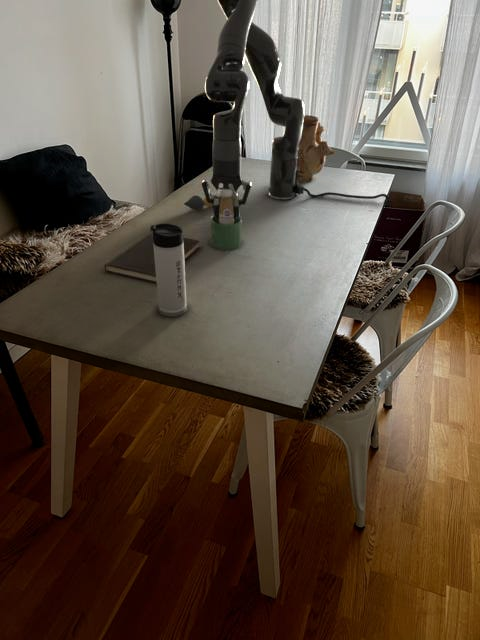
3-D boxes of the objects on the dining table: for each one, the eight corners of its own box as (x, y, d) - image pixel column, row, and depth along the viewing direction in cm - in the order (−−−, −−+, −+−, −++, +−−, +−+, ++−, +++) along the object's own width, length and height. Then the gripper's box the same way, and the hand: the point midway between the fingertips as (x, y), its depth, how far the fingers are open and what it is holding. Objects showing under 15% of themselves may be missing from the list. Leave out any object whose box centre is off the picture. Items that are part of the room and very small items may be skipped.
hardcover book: (200, 248, 133) (199, 240, 132) (159, 284, 115) (159, 276, 114) (151, 238, 138) (150, 231, 137) (105, 271, 120) (103, 263, 119)
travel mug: (158, 302, 108) (151, 221, 97) (186, 302, 109) (183, 220, 98) (156, 317, 103) (148, 233, 92) (186, 316, 104) (182, 232, 92)
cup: (233, 235, 141) (233, 211, 137) (246, 246, 135) (246, 222, 131) (206, 240, 138) (205, 215, 134) (218, 252, 131) (218, 226, 127)
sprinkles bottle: (221, 237, 132) (221, 190, 125) (216, 231, 136) (216, 185, 128) (236, 235, 134) (237, 189, 126) (231, 229, 137) (232, 183, 130)
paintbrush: (225, 198, 168) (225, 184, 166) (234, 201, 166) (234, 188, 163) (181, 211, 157) (180, 196, 154) (190, 215, 154) (190, 200, 151)
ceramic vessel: (330, 185, 184) (339, 117, 170) (283, 186, 182) (288, 117, 168) (318, 172, 199) (326, 108, 185) (274, 172, 197) (278, 108, 183)
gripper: (255, 153, 125) (252, 214, 135) (202, 150, 126) (203, 211, 136) (253, 161, 119) (250, 224, 129) (197, 158, 120) (199, 221, 129)
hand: (226, 217), depth 132 cm, fingers closed on sprinkles bottle, 4 cm apart
